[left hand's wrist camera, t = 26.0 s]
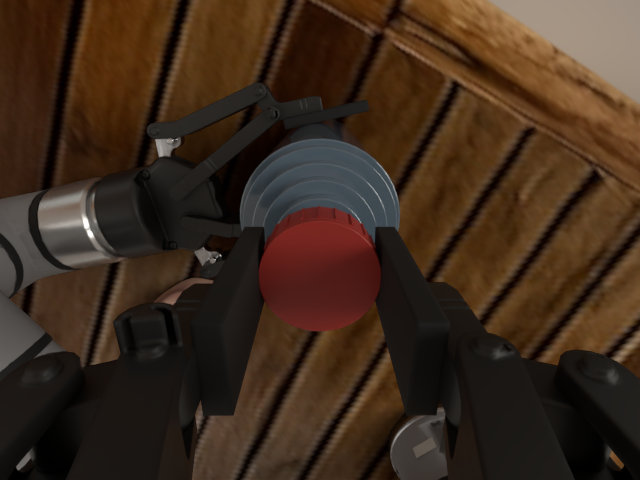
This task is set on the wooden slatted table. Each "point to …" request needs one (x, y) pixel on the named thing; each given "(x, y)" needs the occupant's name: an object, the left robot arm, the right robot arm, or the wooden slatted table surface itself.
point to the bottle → (319, 180)
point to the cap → (319, 269)
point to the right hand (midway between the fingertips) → (374, 162)
